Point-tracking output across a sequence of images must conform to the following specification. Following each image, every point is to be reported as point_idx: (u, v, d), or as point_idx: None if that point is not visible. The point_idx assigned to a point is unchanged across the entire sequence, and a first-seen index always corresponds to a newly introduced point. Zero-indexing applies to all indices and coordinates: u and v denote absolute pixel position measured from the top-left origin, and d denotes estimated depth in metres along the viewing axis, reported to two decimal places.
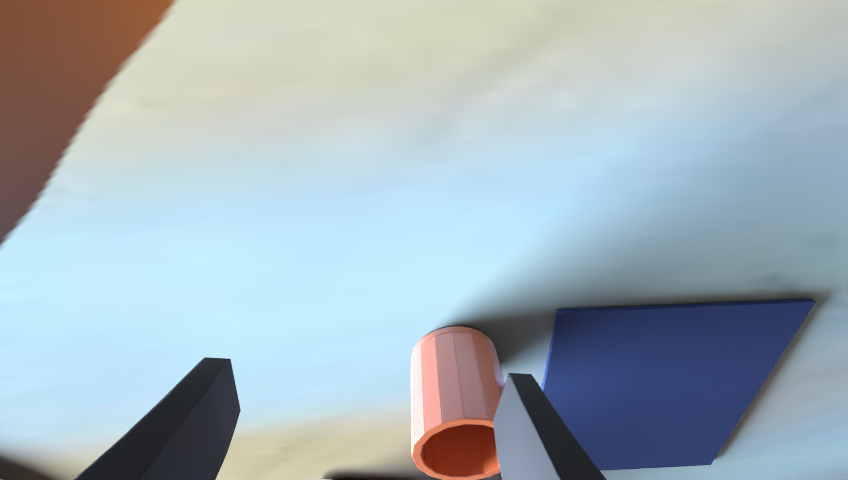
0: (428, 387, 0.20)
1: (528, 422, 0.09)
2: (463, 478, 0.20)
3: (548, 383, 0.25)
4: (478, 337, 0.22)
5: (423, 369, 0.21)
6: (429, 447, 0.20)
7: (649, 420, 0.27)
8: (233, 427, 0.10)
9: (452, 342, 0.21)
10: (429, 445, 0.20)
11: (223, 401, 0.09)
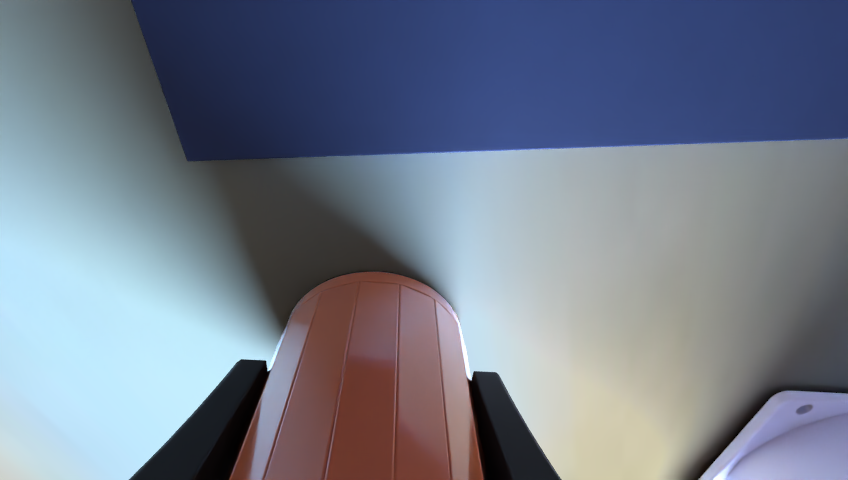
0: None
1: (487, 420, 0.09)
2: None
3: (462, 142, 0.08)
4: (286, 327, 0.10)
5: None
6: None
7: None
8: None
9: None
10: None
11: None
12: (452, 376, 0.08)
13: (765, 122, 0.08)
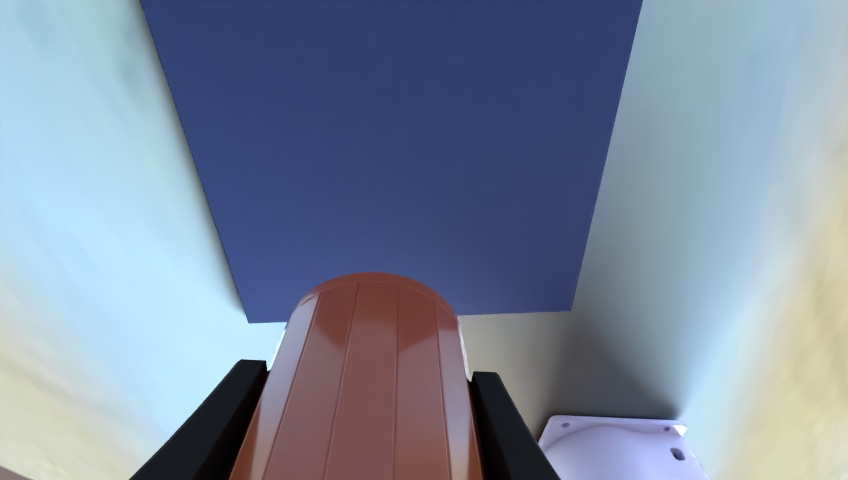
0: None
1: (487, 420, 0.09)
2: None
3: None
4: (286, 327, 0.10)
5: None
6: None
7: (454, 167, 0.16)
8: None
9: None
10: None
11: None
12: (451, 376, 0.09)
13: (490, 308, 0.20)
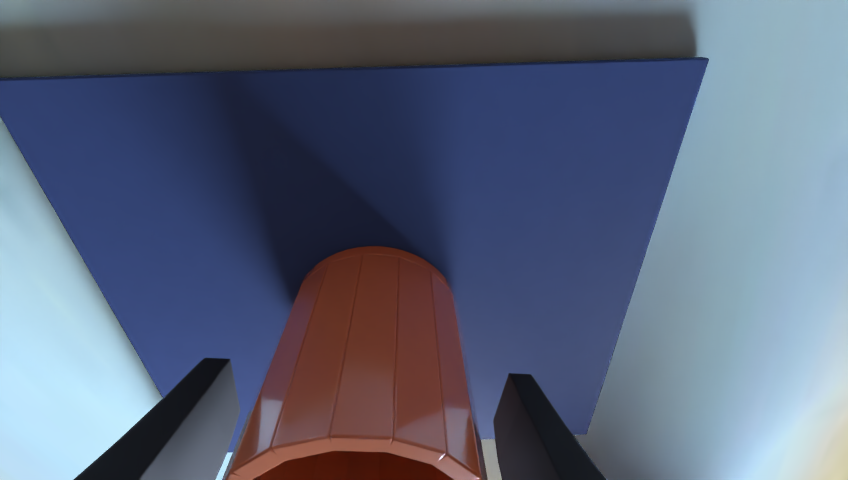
0: None
1: (528, 421, 0.09)
2: None
3: None
4: (295, 296, 0.11)
5: None
6: None
7: None
8: (233, 427, 0.10)
9: None
10: None
11: (223, 401, 0.09)
12: (446, 334, 0.10)
13: (489, 433, 0.17)
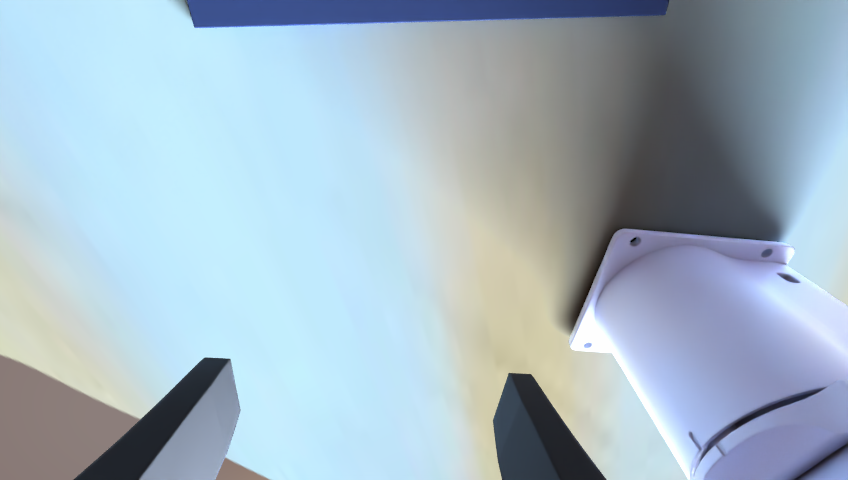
0: None
1: (528, 421, 0.09)
2: None
3: (363, 15, 0.14)
4: None
5: None
6: None
7: None
8: (233, 427, 0.10)
9: None
10: None
11: (223, 401, 0.09)
12: None
13: (550, 4, 0.14)
